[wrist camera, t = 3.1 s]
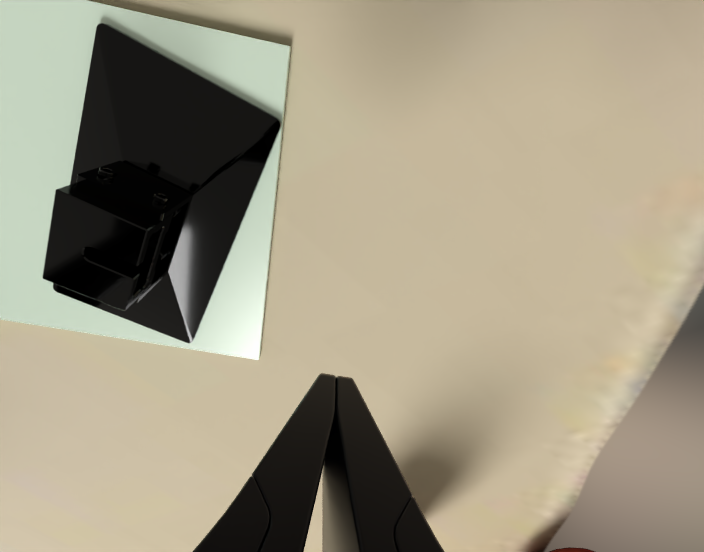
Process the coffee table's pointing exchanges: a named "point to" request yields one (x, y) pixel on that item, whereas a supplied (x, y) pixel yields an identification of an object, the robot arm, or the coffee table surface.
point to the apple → (572, 550)
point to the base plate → (60, 146)
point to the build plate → (154, 187)
